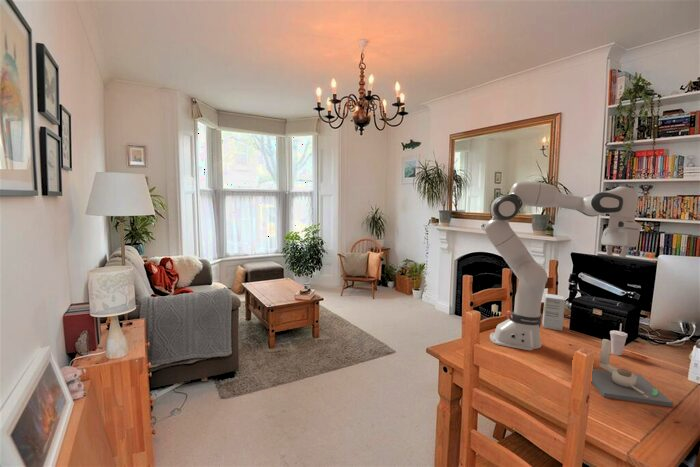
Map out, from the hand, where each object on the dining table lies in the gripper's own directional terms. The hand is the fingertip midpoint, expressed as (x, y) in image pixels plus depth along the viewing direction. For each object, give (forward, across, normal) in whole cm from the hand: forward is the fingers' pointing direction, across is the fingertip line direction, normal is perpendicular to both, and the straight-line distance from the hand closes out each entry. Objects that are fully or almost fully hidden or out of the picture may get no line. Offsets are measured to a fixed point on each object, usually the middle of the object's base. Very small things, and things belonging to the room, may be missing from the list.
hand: (615, 256), depth 155 cm
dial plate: (+47, +26, -4) cm, 54 cm away
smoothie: (+43, -7, +11) cm, 45 cm away
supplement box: (+42, -38, -4) cm, 57 cm away
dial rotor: (+46, +25, -5) cm, 52 cm away
